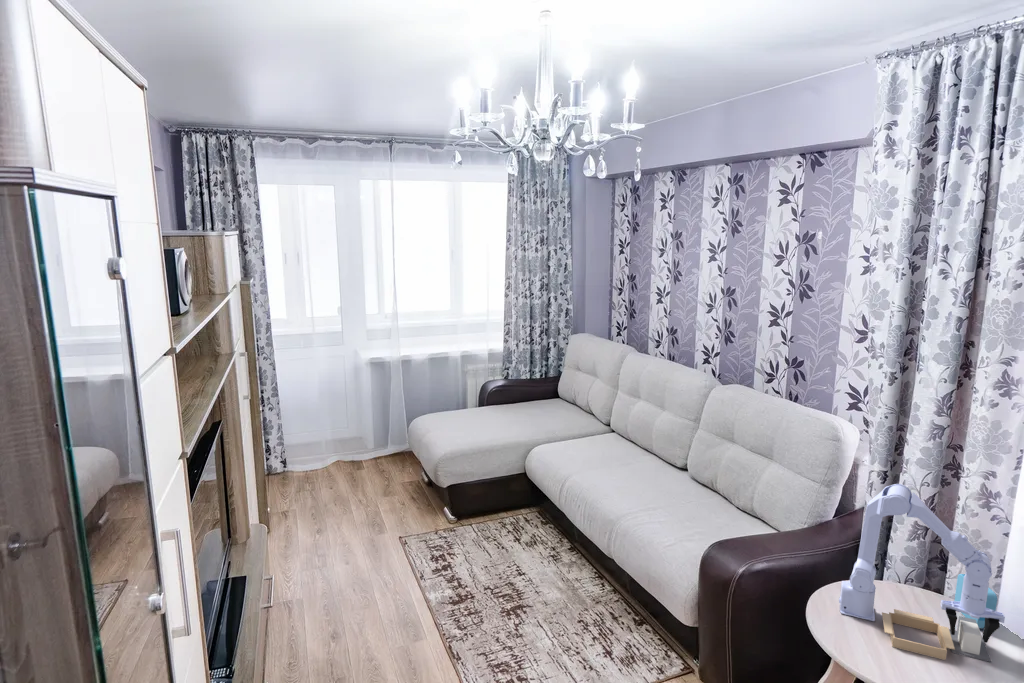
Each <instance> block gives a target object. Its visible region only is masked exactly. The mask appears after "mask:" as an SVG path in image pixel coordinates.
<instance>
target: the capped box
mask: <svg viewBox="0 0 1024 683" xmlns="http://www.w3.org/2000/svg"><path fill="white" fill-rule="evenodd" d="M956 628H957V629H956V631H957V637H958V640H959V643H960V646H961V650H962V651H964V652H968V653H973V654H977V655H979V653H980V647H981V640H982V638H983V634H982V632H981V630H980V628H979V627H978V625H977V622H976V620H975V619H970V618H966V617H964V616H960V615H958V618H957V626H956Z"/></svg>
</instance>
